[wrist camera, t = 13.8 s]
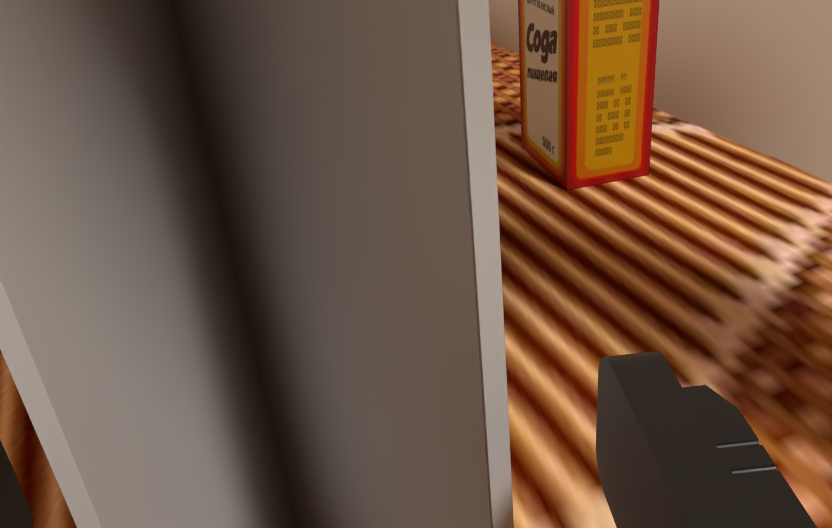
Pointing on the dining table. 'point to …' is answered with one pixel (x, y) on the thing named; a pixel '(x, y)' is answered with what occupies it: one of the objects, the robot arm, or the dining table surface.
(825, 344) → the dining table surface
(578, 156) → the baking soda box
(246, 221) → the brochure
